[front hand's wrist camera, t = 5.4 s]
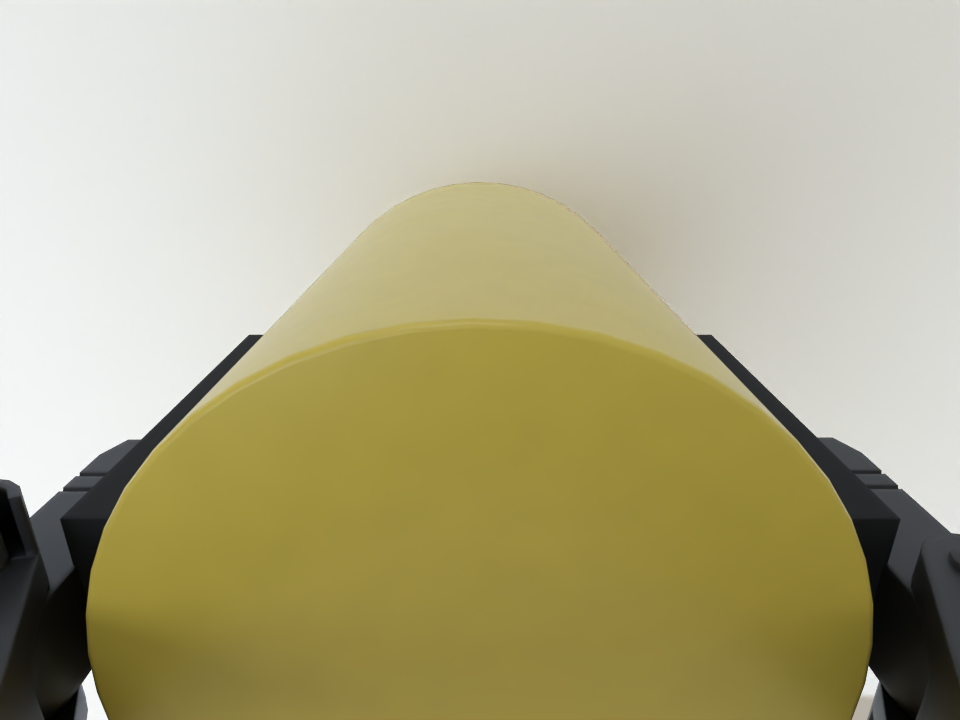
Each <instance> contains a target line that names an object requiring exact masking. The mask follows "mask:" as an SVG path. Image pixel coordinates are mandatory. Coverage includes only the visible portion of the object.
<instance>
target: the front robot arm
mask: <svg viewBox="0 0 960 720" xmlns="http://www.w3.org/2000/svg"><path fill="white" fill-rule="evenodd" d="M262 336H263V335H249V336H247V337H246V338H245V339H244V340H243V341H242V342H241V343H240V344H239V345H238V346H237V347H236V348H235V349H234V350H233V351H232V352H231V353H230V354H229V355H228V356H227V357H226V358H225V359H224V360H223V361H222V362H221V363H220V364H219V365H218V366H217V367H216V368H215V369H214V370H213V371H211V372H210V373H209V374H208V375H207V376H206V377H205V378H204V379H203V380H202V381H201V382H200V383H199V384H198V385H197V386H196V387H195V388H194V389H193V390H192V391H191V392H190V393H189V394H188V395H187V396H186V397H185V398H184V399H183V400H182V401H181V402H180V403H179V404H178V405H176V406H175V407H174V408H173V409H172V410H171V411H170V412H169V413H168V414H167V415H166V416H165V417H164V418H163V419H162V420H161V421H160V422H159V423H158V424H157V425H156V426H155V427H154V428H153V429H152V430H151V431H150V432H149V433H148V434H147V435H146V436H145V437H144V438H143V439H141V440H127V441H125V442H123V443H121V444H119V445H117V446H116V447H114V448H112V449H110V450H108V451H106V452H104V453H102V454H100V455H99V456H98V457H97V458H96V459H94V460H93V461H92V462H91V463H90V464H89V465H88V466H87V467H86V468H85V469H83V470H82V471H81V472H80V476H76V477H75V478H73V479H72V480H71V481H70V482H69V483H68V484H67V485H66V486H65V487H64V488H63V492H58V493H57V494H56V495H55V496H54V497H52V498H51V499H50V500H49V501H48V502H47V503H46V504H45V505H44V506H43V507H41V508H40V509H39V510H38V511H37V512H36V513H35V514H34V515H33V516H32V517H30V518H29V515H28V511H27V508H26V505H25V502H24V499H23V495H22V492H21V489H20V486H18V485H17V484H15V483H13V482H11V481H10V480H1V479H0V720H87V712H88V708H87V702H86V697H85V693H84V690H83V687H82V682H83V681H84V679H85V678H86V677H87V675H88V674H89V672H90V671H91V664H90V660H89V656H88V645H87V628H86V608H87V599H88V591H89V582H90V574H91V569H92V565H93V562H94V559H95V556H96V552H97V549H98V546H99V543H100V539H101V536H102V533H103V530H104V527H105V525H106V523H107V521H108V519H109V517H110V515H111V513H112V511H113V509H114V508H115V506H116V504H117V502H118V500H119V498H120V496H121V494H122V492H123V490H124V488H125V487H126V485H127V484H128V483H129V481H130V480H131V479H132V477H133V476H134V475H135V473H136V472H137V471H138V469H139V468H140V467H141V465H142V464H143V463H144V461H145V460H146V459H147V457H148V456H149V455H150V453H151V452H152V451H153V449H154V448H155V447H156V446H157V445H158V444H159V443H160V442H161V441H162V440H163V439H164V438H165V437H166V436H167V435H168V434H169V433H170V432H171V431H172V430H173V429H174V428H175V426H176V425H177V424H178V423H179V422H180V421H181V420H182V419H183V418H184V417H185V416H186V415H187V414H188V413H189V412H190V411H191V410H192V409H193V408H194V407H195V406H196V405H197V404H198V403H199V402H200V401H201V400H202V398H203V397H204V396H205V395H206V394H207V393H208V392H209V391H210V390H211V389H212V388H213V387H214V386H215V385H216V384H217V383H218V382H219V381H220V380H221V379H222V378H223V377H224V376H225V375H226V374H227V373H228V372H229V370H230V369H231V368H232V367H233V366H234V365H235V364H236V363H237V362H238V361H239V360H240V359H241V358H242V357H243V356H244V355H245V354H246V353H247V352H248V351H249V350H250V349H251V348H252V347H253V346H254V345H255V343H256V342H257V341H258V340H259V339H260V338H261V337H262ZM697 336H698V338H699V339H700V340H701V341H702V342H703V343H704V344H705V345H706V346H707V347H708V348H709V349H710V350H711V351H712V352H713V353H714V354H715V355H716V356H717V357H718V358H719V359H720V360H721V361H722V362H723V364H724V365H725V366H726V367H727V368H728V369H729V370H730V371H731V372H732V373H733V374H734V375H735V376H736V377H737V378H738V379H739V380H740V381H741V382H742V383H743V384H744V385H745V386H746V387H747V388H748V389H749V391H750V392H751V393H752V394H753V395H754V396H755V397H756V398H757V399H758V400H759V401H760V402H761V403H762V404H763V405H764V406H765V407H766V408H767V409H768V410H769V411H770V412H771V413H772V414H773V415H774V417H775V418H776V419H777V420H778V421H779V422H780V423H781V424H782V425H783V426H784V427H785V428H786V429H787V430H788V431H789V432H790V433H791V434H792V435H793V436H794V437H795V438H796V439H797V440H798V442H799V443H800V444H801V445H802V447H803V448H804V449H805V450H806V451H807V453H808V454H809V455H810V456H811V458H812V459H813V460H814V461H815V463H816V464H817V465H818V466H819V467H820V469H821V470H822V471H823V472H824V474H825V475H826V476H827V477H828V478H829V480H830V482H831V484H832V486H833V487H834V489H835V491H836V493H837V494H838V496H839V498H840V500H841V501H842V503H843V505H844V507H845V508H846V510H847V512H848V514H849V516H850V517H851V519H852V522H853V525H854V528H855V531H856V534H857V536H858V539H859V542H860V545H861V548H862V550H863V553H864V556H865V559H866V564H867V570H868V576H869V582H870V588H871V594H872V601H873V643H872V650H871V655H870V660H869V667H870V668H871V670H872V671H873V672H874V674H875V675H876V677H877V678H878V680H879V684H878V687H877V690H876V693H875V697H874V700H873V703H872V706H871V710H870V713H869V716H868V719H867V720H960V534H953V533H950V532H949V531H948V530H947V529H946V528H945V527H944V526H943V525H941V524H940V523H939V522H938V521H937V520H936V519H935V518H934V517H932V516H931V515H930V514H929V513H928V512H927V511H926V510H925V509H924V508H922V507H921V506H920V505H919V504H918V503H917V502H916V501H915V500H914V499H912V498H911V497H910V496H909V495H908V494H907V493H906V492H905V491H904V490H902V489H898V485H897V484H896V483H895V482H894V481H892V480H891V479H890V478H889V477H888V476H887V475H886V474H882V473H881V470H880V469H879V468H878V467H877V466H876V465H875V464H873V463H872V462H871V461H870V460H869V459H868V458H867V457H866V456H865V455H863V454H862V453H861V452H859V451H857V450H855V449H853V448H851V447H850V446H848V445H846V444H844V443H842V442H840V441H838V440H836V439H834V438H817V437H816V436H815V435H814V434H813V433H812V432H811V431H810V430H809V429H808V428H807V427H806V426H805V425H804V424H802V423H801V422H800V421H799V420H798V419H797V418H796V417H795V416H794V415H793V414H792V413H791V412H790V411H789V410H788V409H787V408H786V407H785V406H784V405H783V404H782V403H781V402H780V401H779V400H778V399H777V398H776V397H775V396H774V395H773V394H772V393H771V392H770V391H769V390H767V389H766V388H765V387H764V386H763V385H762V384H761V383H760V382H759V381H758V380H757V379H756V378H755V377H754V376H753V375H752V374H751V373H750V372H749V371H748V370H747V369H746V368H745V367H744V366H743V365H742V364H741V363H740V362H739V361H738V360H737V359H736V358H735V357H734V356H732V355H731V354H730V353H729V352H728V351H727V350H726V349H725V348H724V347H723V346H722V345H721V344H720V343H719V342H718V341H717V340H716V339H715V338H714V337H713V336H712V335H697Z"/></svg>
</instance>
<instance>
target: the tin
mask: <svg viewBox="0 0 960 720" xmlns="http://www.w3.org/2000/svg"><path fill="white" fill-rule="evenodd" d="M86 628H87V645H88V656H89V660H90V664H91V669H92V673H93V677H94V681H95V686H96V690H97V693H98V696H99V698H100V700H101V703H102V705H103V708H104V710H105V713H106V715H107V717H108V720H852V717H853V714H854V712H855V709H856V706H857V704H858V701H859V698H860V696H861V693H862V690H863V687H864V685H865V681H866V676H867V671H868V665H869V660H870V655H871V650H872V643H873V601H872V594H871V588H870V582H869V576H868V570H867V564H866V559H865V556H864V553H863V550H862V548H861V545H860V542H859V539H858V536H857V534H856V531H855V528H854V525H853V522H852V519H851V517H850V516H849V514H848V512H847V510H846V508H845V507H844V505H843V503H842V501H841V500H840V498H839V496H838V494H837V493H836V491H835V489H834V487H833V486H832V484H831V482H830V480H829V478H828V477H827V476H826V475H825V474H824V472H823V471H822V470H821V469H820V467H819V466H818V465H817V464H816V463H815V461H814V460H813V459H812V458H811V456H810V455H809V454H808V453H807V451H806V450H805V449H804V448H803V447H802V445H801V444H800V443H799V442H798V440H797V439H796V438H795V437H794V436H793V435H792V434H791V433H790V432H789V431H788V430H787V429H786V428H785V427H784V426H783V425H782V424H781V423H780V422H779V421H778V420H777V419H776V418H775V417H774V415H773V414H772V413H771V412H770V411H769V410H768V409H767V408H766V407H765V406H764V405H763V404H762V403H761V402H760V401H759V400H758V399H757V398H756V397H755V396H754V395H753V394H752V393H751V392H750V391H749V389H748V388H747V387H746V386H745V385H744V384H743V383H742V382H741V381H740V380H739V379H738V378H737V377H736V376H735V375H734V374H733V373H732V372H731V371H730V370H729V369H728V368H727V367H726V366H725V365H724V364H723V362H722V361H721V360H720V359H719V358H718V357H717V356H716V355H715V354H714V353H713V352H712V351H711V350H710V349H709V348H708V347H707V346H706V345H705V344H704V343H703V342H702V341H701V340H700V339H699V338H698V336H697V335H696V334H695V333H694V332H693V331H692V330H691V329H690V328H689V327H688V326H687V325H686V324H685V323H684V322H683V321H682V320H681V319H680V318H679V317H678V316H677V315H676V314H675V313H674V312H673V311H672V309H671V308H670V307H669V306H668V305H667V304H666V303H665V302H664V301H663V300H662V299H661V298H660V297H659V296H658V295H657V294H656V293H655V292H654V291H653V290H652V289H651V288H650V287H649V286H648V285H647V283H646V282H645V281H644V280H643V279H642V278H641V277H640V276H639V275H638V274H637V273H636V272H635V271H634V270H633V269H632V268H631V267H630V266H629V265H628V264H627V263H626V262H625V261H624V260H623V259H622V258H621V256H620V255H619V254H618V253H617V252H616V251H615V250H614V249H613V248H612V247H611V246H610V245H609V244H608V243H607V242H606V241H605V240H604V239H603V238H602V237H601V236H600V235H599V234H598V233H597V232H596V231H595V230H594V229H593V228H592V227H591V226H590V225H589V224H588V223H587V222H586V221H584V220H583V219H582V218H581V217H580V216H579V215H577V214H576V213H574V212H573V211H571V210H570V209H568V208H567V207H565V206H564V205H562V204H561V203H558V202H556V201H554V200H552V199H550V198H548V197H546V196H544V195H542V194H539V193H536V192H533V191H530V190H527V189H524V188H521V187H516V186H511V185H505V184H500V183H482V182H474V183H462V184H453V185H449V186H444V187H440V188H435V189H432V190H429V191H426V192H424V193H421V194H418V195H416V196H413V197H411V198H409V199H407V200H405V201H403V202H402V203H400V204H398V205H396V206H394V207H393V208H391V209H390V210H388V211H387V212H386V213H384V214H383V215H382V216H380V217H379V218H377V219H376V220H375V221H374V222H373V223H372V224H371V225H370V226H369V227H368V228H367V229H366V230H365V231H364V232H363V233H362V234H361V235H360V236H359V237H358V238H357V239H356V240H355V241H354V242H353V243H352V244H351V245H350V246H349V247H348V248H347V249H346V250H345V251H344V252H343V253H342V254H341V255H340V256H339V257H338V258H337V259H336V261H335V262H334V263H333V264H332V265H331V266H330V267H329V268H328V269H327V270H326V271H325V272H324V273H323V274H322V275H321V276H320V277H319V278H318V279H317V280H316V281H315V282H314V283H313V284H312V285H311V286H310V287H309V289H308V290H307V291H306V292H305V293H304V294H303V295H302V296H301V297H300V298H299V299H298V300H297V301H296V302H295V303H294V304H293V305H292V306H291V307H290V308H289V309H288V310H287V311H286V312H285V313H284V314H283V315H282V317H281V318H280V319H279V320H278V321H277V322H276V323H275V324H274V325H273V326H272V327H271V328H270V329H269V330H268V331H267V332H266V333H265V334H264V335H263V336H262V337H261V338H260V339H259V340H258V341H257V342H256V343H255V345H254V346H253V347H252V348H251V349H250V350H249V351H248V352H247V353H246V354H245V355H244V356H243V357H242V358H241V359H240V360H239V361H238V362H237V363H236V364H235V365H234V366H233V367H232V368H231V369H230V370H229V372H228V373H227V374H226V375H225V376H224V377H223V378H222V379H221V380H220V381H219V382H218V383H217V384H216V385H215V386H214V387H213V388H212V389H211V390H210V391H209V392H208V393H207V394H206V395H205V396H204V397H203V398H202V400H201V401H200V402H199V403H198V404H197V405H196V406H195V407H194V408H193V409H192V410H191V411H190V412H189V413H188V414H187V415H186V416H185V417H184V418H183V419H182V420H181V421H180V422H179V423H178V424H177V425H176V426H175V428H174V429H173V430H172V431H171V432H170V433H169V434H168V435H167V436H166V437H165V438H164V439H163V440H162V441H161V442H160V443H159V444H158V445H157V446H156V447H155V448H154V449H153V451H152V452H151V453H150V455H149V456H148V457H147V459H146V460H145V461H144V463H143V464H142V465H141V467H140V468H139V469H138V471H137V472H136V473H135V475H134V476H133V477H132V479H131V480H130V481H129V483H128V484H127V485H126V487H125V488H124V490H123V492H122V494H121V496H120V498H119V500H118V502H117V504H116V506H115V508H114V509H113V511H112V513H111V515H110V517H109V519H108V521H107V523H106V525H105V527H104V530H103V533H102V536H101V539H100V543H99V546H98V549H97V552H96V556H95V559H94V562H93V565H92V569H91V574H90V582H89V591H88V599H87V608H86Z"/></svg>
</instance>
